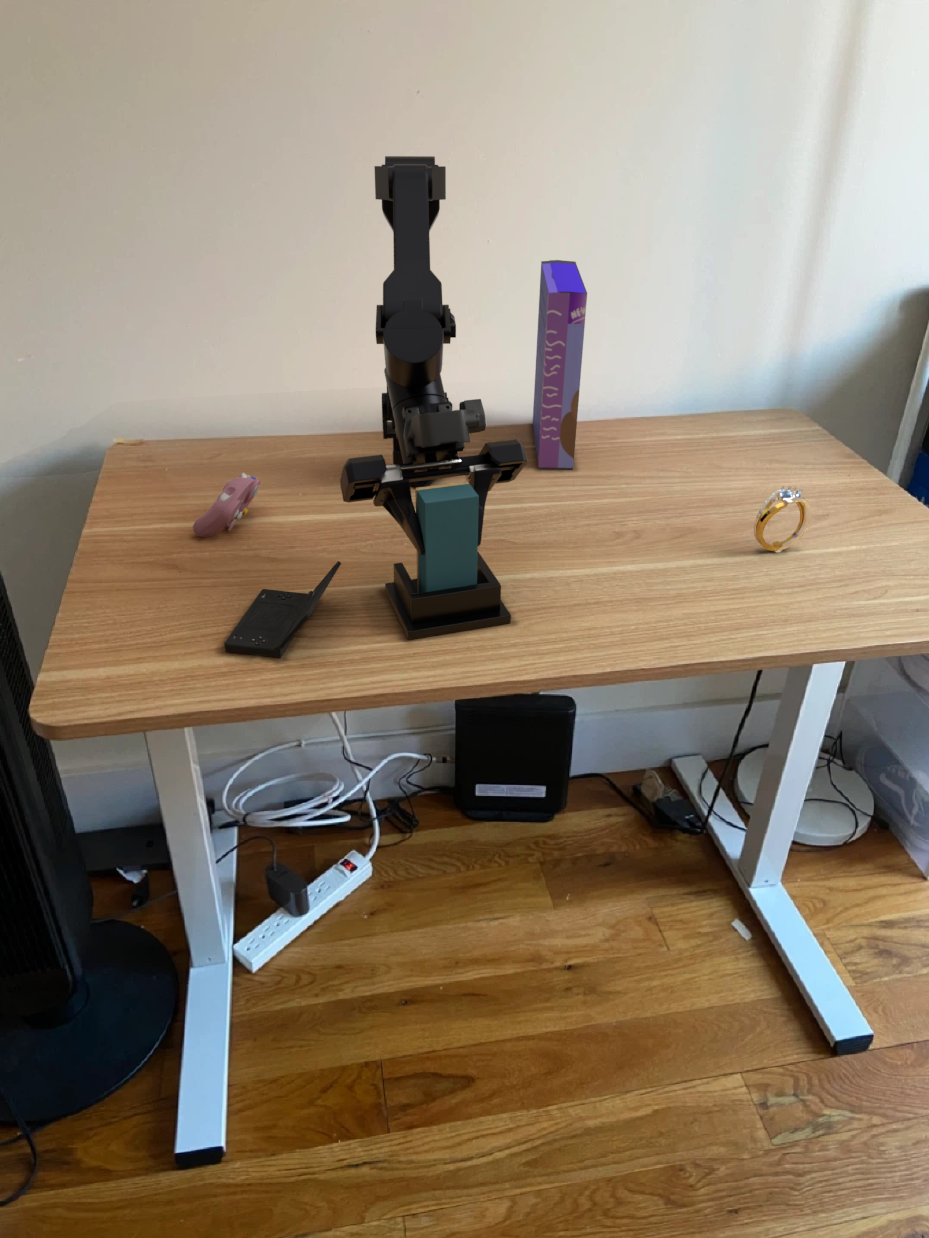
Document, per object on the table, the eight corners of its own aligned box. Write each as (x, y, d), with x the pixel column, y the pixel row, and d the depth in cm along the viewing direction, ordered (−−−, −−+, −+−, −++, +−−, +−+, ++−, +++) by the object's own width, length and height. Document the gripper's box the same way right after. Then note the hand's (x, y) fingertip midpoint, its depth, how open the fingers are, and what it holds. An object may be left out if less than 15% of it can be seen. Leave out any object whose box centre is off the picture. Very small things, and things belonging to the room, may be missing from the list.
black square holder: (384, 591, 104) (383, 559, 101) (480, 576, 106) (481, 545, 104) (408, 640, 96) (407, 606, 93) (510, 623, 98) (512, 590, 96)
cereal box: (573, 469, 131) (587, 291, 118) (538, 468, 131) (549, 291, 118) (563, 423, 146) (575, 260, 133) (532, 422, 146) (541, 259, 133)
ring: (795, 541, 114) (809, 480, 110) (809, 553, 112) (824, 491, 107) (743, 547, 113) (754, 486, 108) (756, 560, 110) (769, 498, 106)
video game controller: (222, 553, 113) (240, 508, 109) (187, 534, 113) (205, 489, 109) (253, 516, 122) (272, 474, 118) (221, 499, 121) (239, 455, 117)
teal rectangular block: (417, 593, 101) (415, 487, 94) (466, 585, 103) (467, 481, 96) (426, 611, 98) (424, 503, 92) (476, 602, 100) (478, 496, 93)
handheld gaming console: (241, 582, 101) (290, 523, 96) (298, 615, 104) (349, 559, 99) (217, 656, 93) (269, 595, 87) (280, 689, 95) (334, 633, 90)
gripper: (338, 379, 89) (370, 538, 86) (525, 362, 93) (561, 511, 91) (328, 429, 99) (356, 571, 96) (496, 411, 104) (527, 546, 101)
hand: (450, 549), depth 96 cm, fingers closed on teal rectangular block, 5 cm apart
